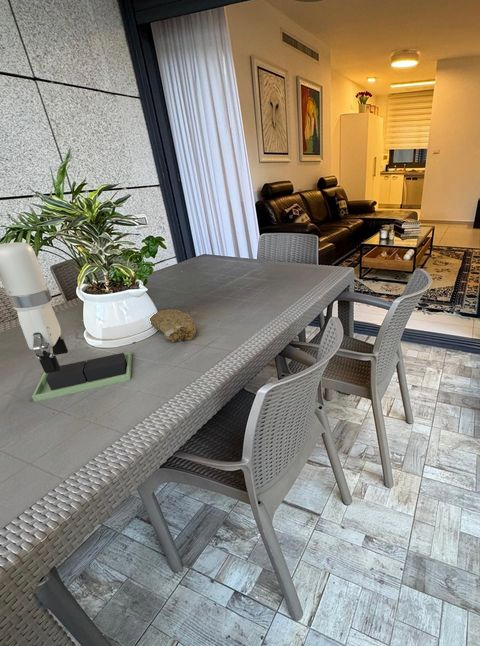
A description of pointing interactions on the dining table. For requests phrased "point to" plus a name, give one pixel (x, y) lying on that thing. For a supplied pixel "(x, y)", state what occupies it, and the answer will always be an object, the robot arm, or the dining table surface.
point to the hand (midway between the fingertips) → (57, 362)
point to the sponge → (174, 324)
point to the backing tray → (46, 393)
